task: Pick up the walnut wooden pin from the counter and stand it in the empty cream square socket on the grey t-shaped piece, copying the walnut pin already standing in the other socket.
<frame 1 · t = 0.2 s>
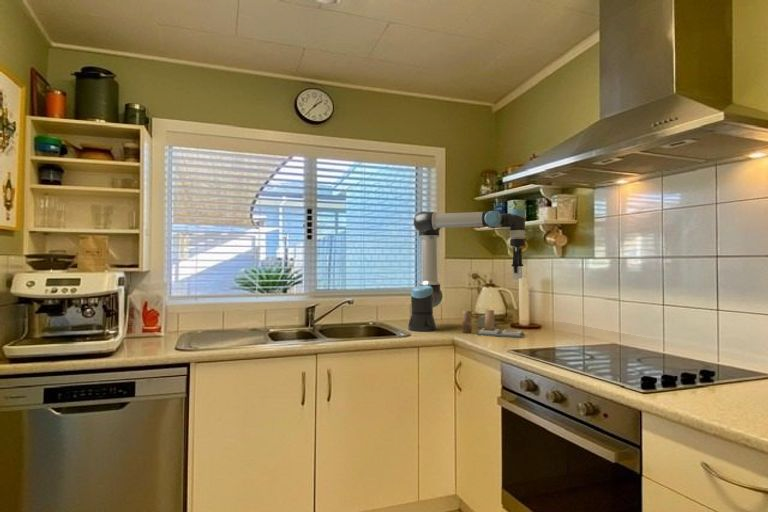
hand: (517, 279, 231), 28 cm above the countertop, fingers open, 13 cm apart
wooden pin: (467, 332, 228), on the countertop
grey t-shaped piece: (500, 334, 221), on the countertop
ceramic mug: (488, 328, 242), on the countertop
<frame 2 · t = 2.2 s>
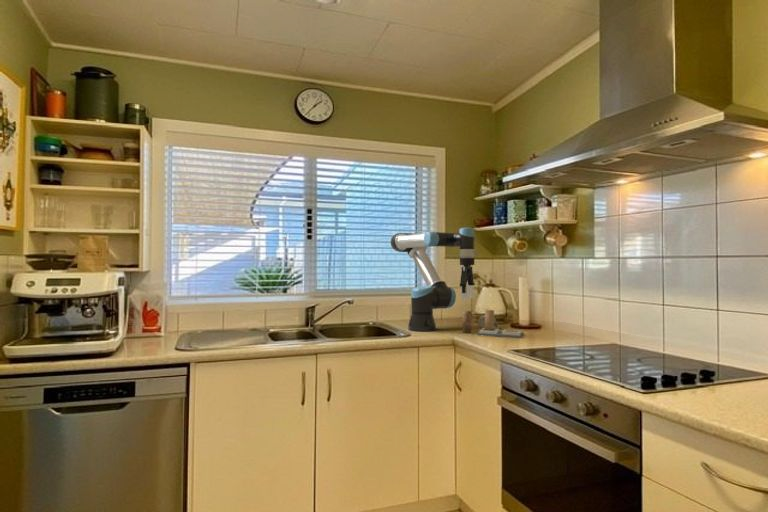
hand: (467, 298, 228), 18 cm above the countertop, fingers open, 13 cm apart
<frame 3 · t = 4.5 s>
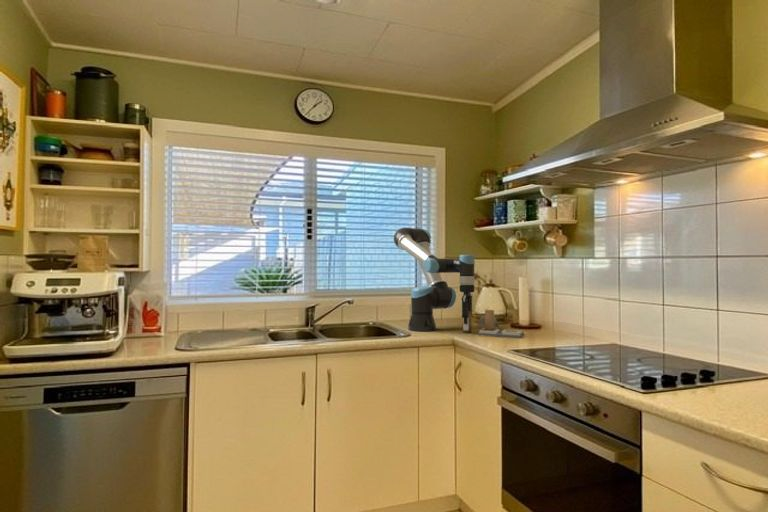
hand: (467, 329, 228), 2 cm above the countertop, fingers closed on wooden pin, 4 cm apart
wooden pin: (467, 332, 228), on the countertop, touching gripper
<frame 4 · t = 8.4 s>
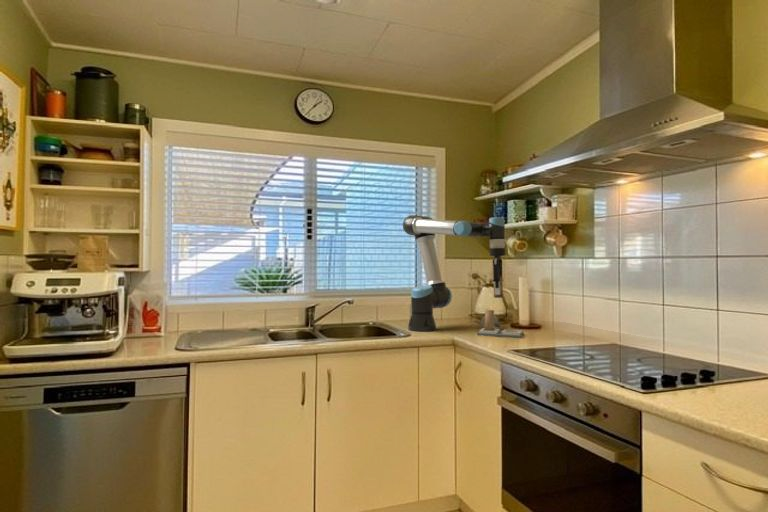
hand: (498, 294, 221), 20 cm above the countertop, fingers closed on wooden pin, 4 cm apart
wooden pin: (498, 297, 221), point 19 cm above the countertop, touching gripper
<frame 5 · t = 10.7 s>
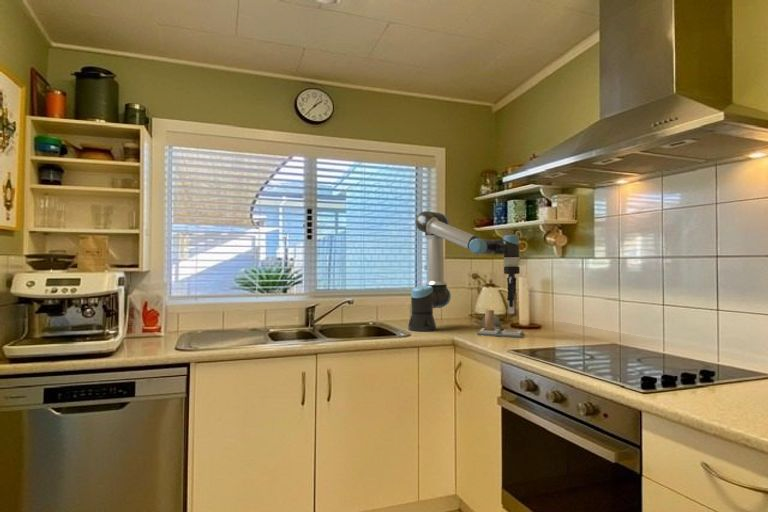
hand: (512, 312, 219), 11 cm above the countertop, fingers closed on wooden pin, 4 cm apart
wooden pin: (512, 316, 218), point 10 cm above the countertop, touching gripper
when the fingers open (5 cm above the countertop, at t = 12.6 s): wooden pin stays where it is, resting on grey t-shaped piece.
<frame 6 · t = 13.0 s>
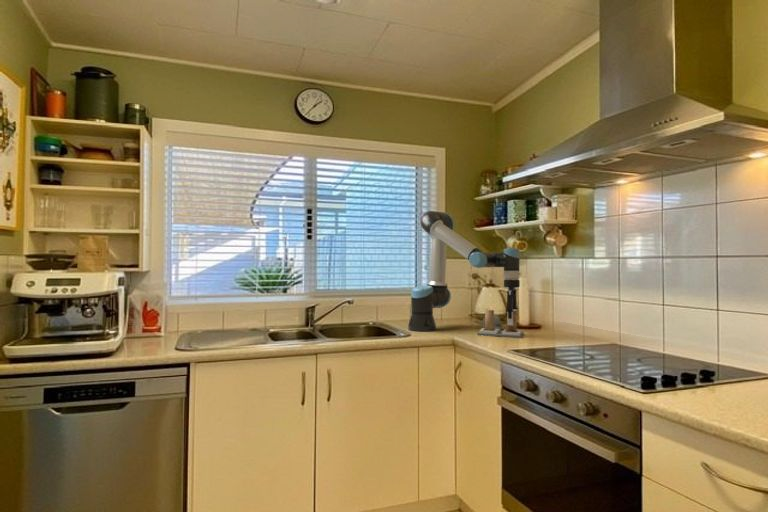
hand: (511, 323, 219), 6 cm above the countertop, fingers open, 10 cm apart
wooden pin: (511, 333, 219), point 1 cm above the countertop, touching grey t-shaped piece
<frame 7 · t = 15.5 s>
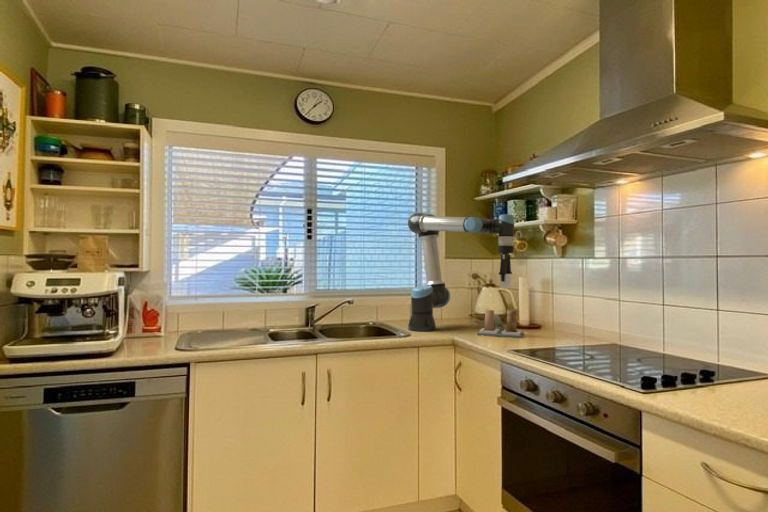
hand: (505, 287, 222), 24 cm above the countertop, fingers open, 13 cm apart
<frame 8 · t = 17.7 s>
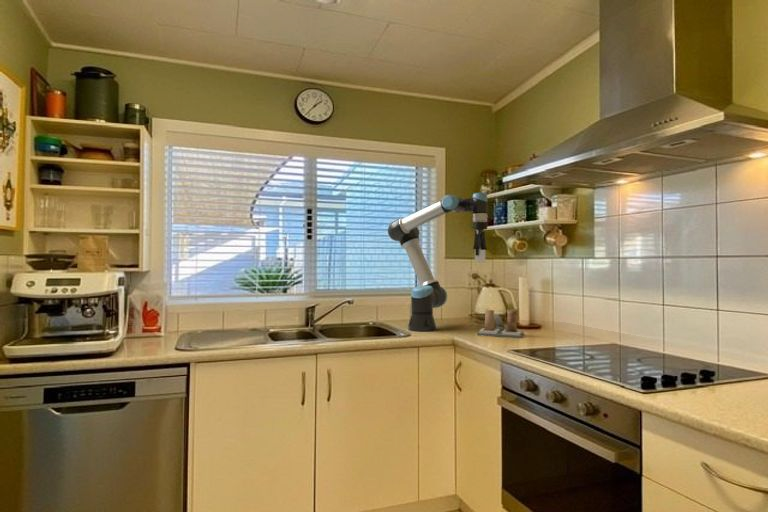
hand: (480, 261, 234), 37 cm above the countertop, fingers open, 13 cm apart
at the end: wooden pin 0.0 cm from the target spot on the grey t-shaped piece, point 1.0 cm above the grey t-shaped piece's base; wooden pin tilted 1°; the gripper is holding nothing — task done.
